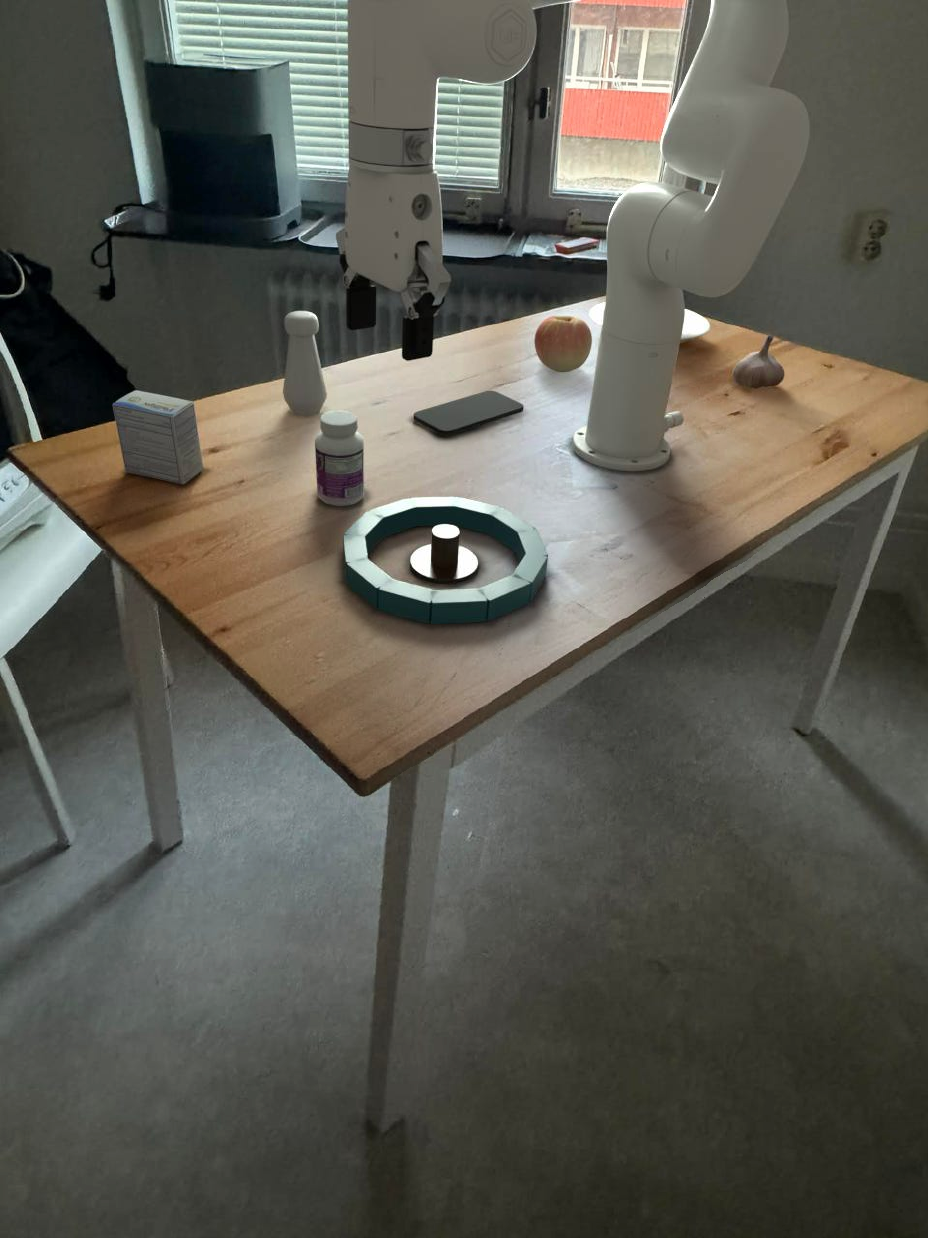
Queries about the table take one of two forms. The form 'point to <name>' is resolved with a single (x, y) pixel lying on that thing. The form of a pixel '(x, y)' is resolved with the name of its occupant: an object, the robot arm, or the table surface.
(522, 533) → the ring
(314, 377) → the salt shaker
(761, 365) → the garlic bulb
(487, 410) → the phone
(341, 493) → the pill bottle
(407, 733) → the table surface
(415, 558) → the peg stand
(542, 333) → the apple
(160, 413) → the medicine box
